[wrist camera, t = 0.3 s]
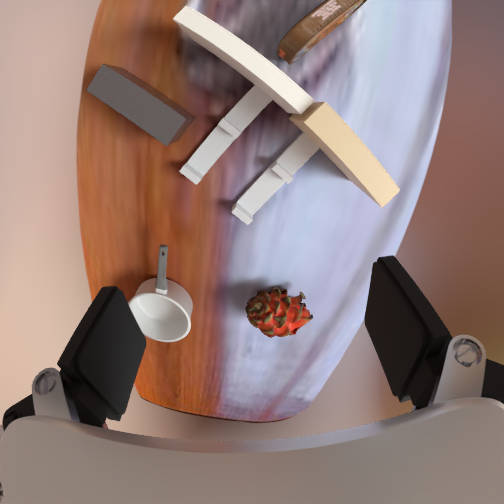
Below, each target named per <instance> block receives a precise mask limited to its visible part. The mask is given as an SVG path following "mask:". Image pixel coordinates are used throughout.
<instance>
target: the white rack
mask: <svg viewBox="0 0 504 504" xmlns="http://www.w3.org/2000/svg"><path fill="white" fill-rule="evenodd" d="M173 20H174V21H175V22H176V23H177V24H178V25H179V26H180V27H181V28H182V29H183V30H184V31H185V32H186V33H187V35H188V36H189V37H190V38H191V39H192V40H193V41H195V42H196V43H198V44H199V45H201V46H203V47H204V48H206V49H207V50H208V51H210V52H211V53H213V54H214V55H216V56H217V57H219V58H220V59H221V60H223V61H224V62H226V63H227V64H228V65H230V66H231V67H232V68H234V69H235V70H236V71H238V72H239V73H240V74H242V75H243V76H244V77H245V78H247V79H248V80H249V81H251V82H252V83H253V84H254V86H253V87H252V88H251V89H250V90H249V91H248V92H247V94H246V95H245V96H244V97H243V98H242V99H241V100H240V101H239V102H238V103H237V104H236V105H235V106H234V107H233V108H232V110H231V111H230V112H229V113H228V114H227V115H226V116H225V117H224V118H223V119H222V120H221V121H220V122H219V123H218V126H217V127H216V128H215V129H214V130H213V131H212V132H211V134H210V135H209V136H208V137H207V138H206V140H205V141H204V142H203V143H202V144H201V146H200V147H199V148H198V149H197V150H196V152H195V153H194V154H193V155H192V157H191V158H190V159H189V160H188V162H187V163H186V164H185V165H184V166H183V167H182V168H181V170H180V171H179V172H181V173H182V174H183V175H184V176H186V177H187V178H188V179H190V180H191V181H192V182H194V183H195V184H196V185H197V184H198V183H199V182H200V180H201V179H202V177H203V176H204V175H205V173H206V172H207V171H208V170H209V169H210V168H211V166H212V165H213V164H214V163H215V162H216V160H217V159H218V158H219V157H220V156H221V155H222V153H223V152H224V151H225V150H226V149H227V148H228V147H229V146H230V144H231V143H232V142H233V141H234V140H235V139H236V138H237V137H238V136H239V135H240V134H241V133H242V131H243V130H244V129H245V128H246V127H247V126H248V125H249V124H250V123H251V122H252V120H253V119H254V118H255V117H256V116H257V115H258V114H259V113H260V112H261V111H262V110H263V109H264V108H265V107H266V106H267V105H268V104H269V103H270V102H271V101H272V100H274V101H275V102H276V103H277V104H278V105H279V106H280V107H282V108H283V109H284V110H285V111H286V112H287V113H293V114H292V115H291V116H290V117H289V118H288V119H290V120H291V121H292V122H293V123H294V124H295V125H296V126H297V127H298V128H299V129H300V130H301V131H302V133H301V134H300V135H299V136H298V137H297V138H296V139H295V140H294V141H293V142H292V143H291V144H290V145H289V146H288V147H287V148H286V149H285V150H284V152H283V153H282V154H281V155H280V156H279V157H278V158H277V159H276V160H275V161H274V162H273V163H272V164H271V165H270V166H269V167H268V168H267V169H266V170H265V171H264V172H263V173H262V174H261V176H260V177H259V178H258V179H257V180H256V181H255V182H254V183H253V184H252V185H251V186H250V187H249V188H248V189H247V190H246V192H245V193H244V194H243V195H242V196H241V197H240V198H239V199H238V200H237V201H236V202H235V204H234V205H233V206H232V213H233V214H234V215H236V216H237V217H238V218H239V219H241V220H242V221H243V222H245V223H246V224H247V225H249V224H250V223H251V222H252V221H253V214H254V213H255V212H256V211H257V210H258V209H259V208H260V207H261V206H262V205H263V204H264V203H265V202H266V201H267V200H268V199H269V198H270V197H271V196H272V195H273V194H274V193H275V192H276V191H277V190H278V189H279V188H280V187H281V186H282V185H283V184H284V182H285V181H286V182H287V183H288V184H289V183H290V182H291V181H292V180H293V179H294V178H293V177H292V176H293V174H294V173H295V172H296V171H297V170H298V169H299V168H300V167H301V166H302V165H303V164H304V163H305V162H306V161H307V160H308V159H309V158H310V157H311V156H312V155H313V154H314V153H315V152H316V151H317V150H318V149H319V148H320V149H321V150H322V151H323V152H324V153H325V154H326V155H327V156H328V157H329V158H330V159H331V160H332V161H333V162H334V164H335V165H336V166H337V167H338V168H339V169H340V170H341V171H342V172H343V173H344V174H345V175H346V176H347V178H348V179H349V180H350V181H351V182H353V183H354V184H355V185H356V186H357V187H359V188H360V189H361V190H362V191H363V192H365V193H366V194H367V195H368V196H369V197H370V198H372V199H373V200H374V201H375V202H376V203H377V204H378V205H379V206H381V207H382V208H383V207H384V206H385V205H386V204H387V203H388V202H389V201H390V200H391V199H392V198H393V197H394V196H395V195H396V194H397V193H398V192H399V191H400V189H399V188H398V186H397V185H396V184H395V182H394V181H393V180H392V178H391V177H390V176H389V174H388V173H387V172H386V170H385V169H384V168H383V166H382V165H381V164H380V163H379V161H378V160H377V159H376V158H375V156H374V155H373V154H372V153H371V151H370V150H369V149H368V148H367V147H366V146H365V144H364V143H363V142H362V141H361V140H360V138H359V137H358V136H357V135H356V134H355V133H354V132H353V131H352V129H351V128H350V127H349V126H348V125H347V124H346V123H345V122H344V121H343V120H342V119H341V118H340V116H339V115H338V114H337V113H336V112H335V111H334V110H333V109H332V108H331V107H330V106H329V105H328V104H327V103H326V102H315V103H313V102H314V100H313V99H312V98H311V97H310V96H309V95H308V94H307V93H306V92H305V91H304V90H303V89H301V88H300V87H299V86H298V85H297V84H296V83H295V82H294V81H293V80H291V79H290V78H289V77H288V76H287V75H286V74H284V73H283V72H282V71H281V70H280V69H278V68H277V67H276V66H275V65H274V64H272V63H271V62H270V61H269V60H267V59H266V58H265V57H264V56H262V55H261V54H260V53H258V52H257V51H256V50H254V49H253V48H252V47H250V46H249V45H248V44H246V43H245V42H243V41H242V40H241V39H239V38H238V37H236V36H235V35H233V34H232V33H231V32H229V31H228V30H226V29H225V28H223V27H221V26H220V25H218V24H217V23H215V22H214V21H212V20H210V19H209V18H207V17H206V16H204V15H202V14H200V13H199V12H197V11H195V10H194V9H192V8H190V7H188V6H185V7H184V8H183V9H182V10H181V11H180V12H179V13H178V14H177V15H176V16H175V17H174V18H173Z"/></svg>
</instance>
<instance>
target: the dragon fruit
mask: <svg viewBox="0 0 504 504" xmlns="http://www.w3.org/2000/svg"><path fill="white" fill-rule="evenodd" d="M280 292H281V293H280ZM302 298H303V299H306V298H305V296H304V294H303V293H302V292H300V295H299V296H296V297H292V298H290V296H287V290H286V289H280V290H279V288H277V287H273V288H272V292H268V293H267V292H266V291H263V290H259V291H257V296H256V297H253V298H251V299H250V300H249V301H248V303H247V304H248V305H247V306H246V308H245V309H246V312H247V315H248V316H247V318H249V319H248V320H249V322H250V323H251V324H252V325H253V326H254V327H256V328H259V329H260V331H261V332H262V333H263V334H265V335H266V336H268V337H271V338H272V337H274V336H278V337H284V336H288V335H295V334H296V331H297V330H298V329H299V328H300V327H302V326H304V325H305V324H306V323H307V322H309V321H310V320H311V319H312V318H313V315H311V316H310V312H309V310H307V309H306V305H305V303H301V301H302ZM299 304H300V305H299ZM303 306H304V307H303Z"/></svg>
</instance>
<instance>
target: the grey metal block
mask: <svg viewBox="0 0 504 504" xmlns="http://www.w3.org/2000/svg"><path fill="white" fill-rule="evenodd" d="M86 91H88V92H89V93H91V94H92V95H94V96H95V97H97V98H98V99H100V100H101V101H103V102H104V103H106V104H107V105H109V106H110V107H112V108H113V109H114V110H116V111H117V112H119V113H120V114H122V115H123V116H125V117H126V118H127V119H129V120H130V121H132V122H133V123H135V124H136V125H137V126H139V127H140V128H142V129H143V130H145V131H146V132H147V133H149V134H150V135H152V136H153V137H154V138H156V139H157V140H159V141H160V142H161V143H163V144H164V145H165V146H168V145H170V144H172V143H174V142H176V141H178V140H179V139H180V138H181V136H182V135H183V134H184V132H185V131H186V130H187V128H188V127H189V126H190V124H191V123H192V122H193V121H194V119H195V118H196V117H195V116H194V115H192V114H191V113H190V112H188V111H187V110H185V109H184V108H182V107H181V106H180V105H178V104H177V103H175V102H174V101H172V100H171V99H170V98H168V97H167V96H165V95H164V94H162V93H161V92H159V91H158V90H156V89H155V88H153V87H152V86H150V85H149V84H147V83H145V82H144V81H142V80H141V79H139V78H138V77H136V76H135V75H133V74H131V73H130V72H128V71H127V70H125V69H123V68H120V67H116V66H111V65H106V64H102V66H101V67H100V69H99V70H98V72H97V74H96V75H95V77H94V78H93V80H92V82H91V83H90V85H89V87H88V89H87V90H86Z"/></svg>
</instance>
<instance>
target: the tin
mask: <svg viewBox="0 0 504 504" xmlns="http://www.w3.org/2000/svg"><path fill="white" fill-rule="evenodd" d="M366 1H367V0H326V1H324V2H323V3H322V4H320V5H319V6H318V7H316V8H315V9H314V10H312V11H311V12H310V13H309V14H307V15H306V16H305V17H304V18H303V19H301V20H300V21H299V22H298V23H297V24H296V25H295V26H294V27H293V28H291V29H290V31H289V32H288V33H287V34H286V35H285V36H284V37H283V39H282V40H281V41H280V43H279V45H278V49H277V54H278V55H279V56H280V57H282V58H283V59H284V60H285V61H287V62H288V64H289V65H291V64H293V63H294V62H296V61H297V60H299V59H300V58H301V57H302V56H303V55H304V54H305V53H307V52H308V51H309V50H310V49H311V48H312V47H313V46H315V45H316V44H317V43H318V42H319V41H320V40H322V39H323V38H324V37H325V36H326V35H328V34H329V33H330V32H331V31H332V30H334V29H335V28H336V27H337V26H339V25H340V24H341V23H342V22H343V21H345V20H346V19H347V18H348V17H349V16H351V15H352V14H353V13H354V12H355V11H356V10H357V9H358V8H359V7H360V6H361V5H363V4H364V3H365V2H366Z"/></svg>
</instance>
